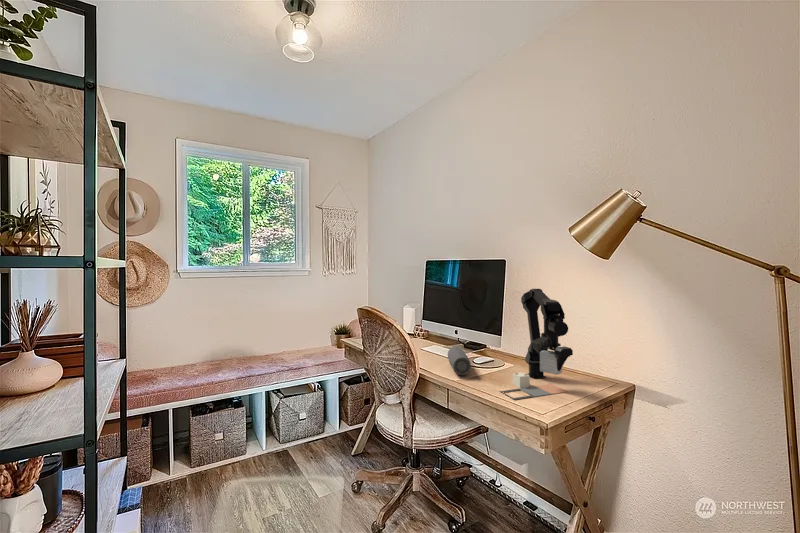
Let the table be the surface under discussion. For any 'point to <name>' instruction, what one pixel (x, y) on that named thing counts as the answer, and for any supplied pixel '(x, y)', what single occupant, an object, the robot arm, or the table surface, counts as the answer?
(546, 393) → the game mat
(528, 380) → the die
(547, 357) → the medicine box
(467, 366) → the bluetooth speaker
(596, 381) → the table surface
